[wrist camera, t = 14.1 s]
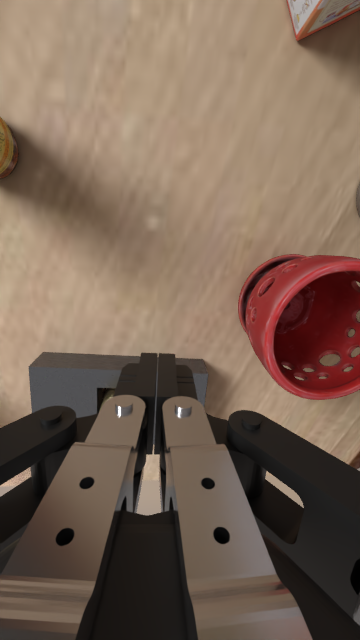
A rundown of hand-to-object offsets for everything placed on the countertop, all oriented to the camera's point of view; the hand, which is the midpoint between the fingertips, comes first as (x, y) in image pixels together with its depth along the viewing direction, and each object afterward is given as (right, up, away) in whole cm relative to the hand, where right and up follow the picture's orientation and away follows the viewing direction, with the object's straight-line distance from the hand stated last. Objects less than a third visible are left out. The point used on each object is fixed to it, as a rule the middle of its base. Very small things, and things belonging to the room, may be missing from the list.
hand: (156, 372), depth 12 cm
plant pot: (+14, +4, +23) cm, 27 cm away
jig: (-6, -7, +24) cm, 26 cm away
